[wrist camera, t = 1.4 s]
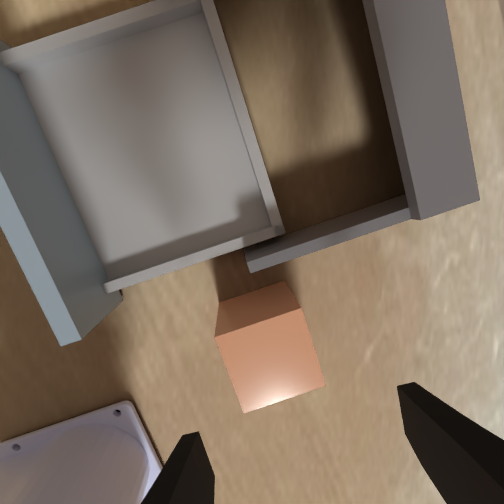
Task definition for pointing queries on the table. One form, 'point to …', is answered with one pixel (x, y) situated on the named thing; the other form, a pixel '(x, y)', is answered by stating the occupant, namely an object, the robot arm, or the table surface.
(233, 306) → the block
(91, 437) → the robot arm
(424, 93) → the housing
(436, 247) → the table surface
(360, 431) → the table surface
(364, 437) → the table surface
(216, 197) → the tray
